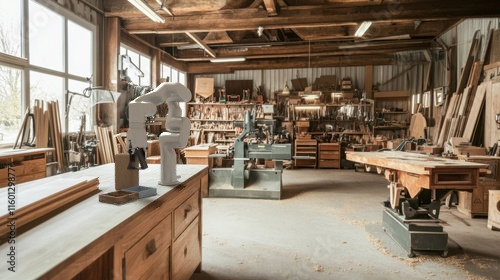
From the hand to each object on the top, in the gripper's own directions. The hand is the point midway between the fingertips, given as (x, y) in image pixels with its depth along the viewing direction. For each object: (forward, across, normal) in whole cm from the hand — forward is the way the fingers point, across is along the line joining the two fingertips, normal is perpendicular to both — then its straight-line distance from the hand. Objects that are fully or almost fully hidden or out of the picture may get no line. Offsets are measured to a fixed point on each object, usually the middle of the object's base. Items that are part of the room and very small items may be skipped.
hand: (137, 160), depth 163 cm
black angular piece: (+4, 0, 0) cm, 4 cm away
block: (+18, -7, -16) cm, 25 cm away
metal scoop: (+18, +7, -11) cm, 22 cm away
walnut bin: (+17, +13, 0) cm, 22 cm away
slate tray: (+18, 0, 0) cm, 18 cm away
